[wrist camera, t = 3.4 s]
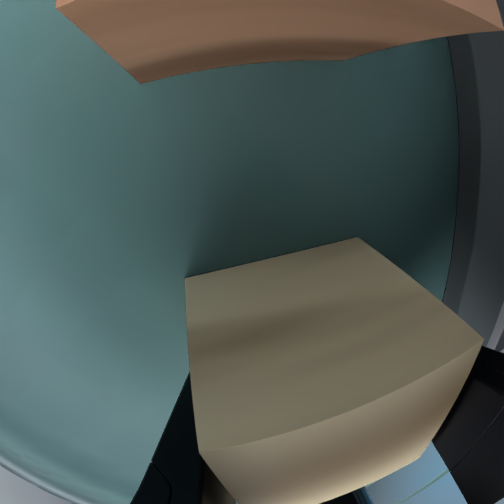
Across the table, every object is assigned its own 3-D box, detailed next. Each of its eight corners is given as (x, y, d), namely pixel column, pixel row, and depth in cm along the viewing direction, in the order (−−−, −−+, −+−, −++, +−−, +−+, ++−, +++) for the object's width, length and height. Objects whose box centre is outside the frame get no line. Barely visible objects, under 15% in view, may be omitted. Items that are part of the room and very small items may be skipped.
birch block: (352, 357, 11) (419, 457, 6) (223, 395, 10) (253, 521, 5) (357, 236, 8) (484, 338, 4) (184, 278, 8) (198, 452, 3)
